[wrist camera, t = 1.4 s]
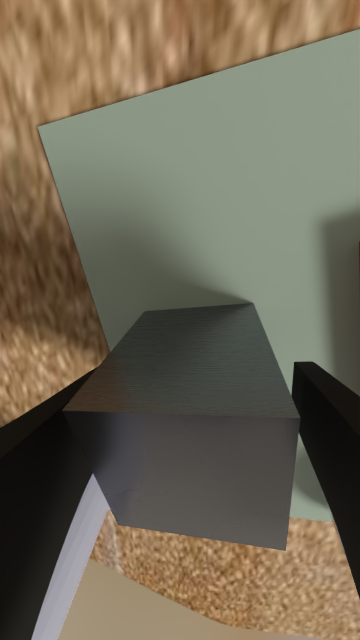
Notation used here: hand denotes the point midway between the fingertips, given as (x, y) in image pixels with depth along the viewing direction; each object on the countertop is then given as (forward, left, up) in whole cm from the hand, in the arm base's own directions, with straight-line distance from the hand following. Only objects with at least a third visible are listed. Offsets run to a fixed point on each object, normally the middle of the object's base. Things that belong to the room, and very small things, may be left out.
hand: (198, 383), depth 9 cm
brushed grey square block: (0, 0, -2) cm, 2 cm away
